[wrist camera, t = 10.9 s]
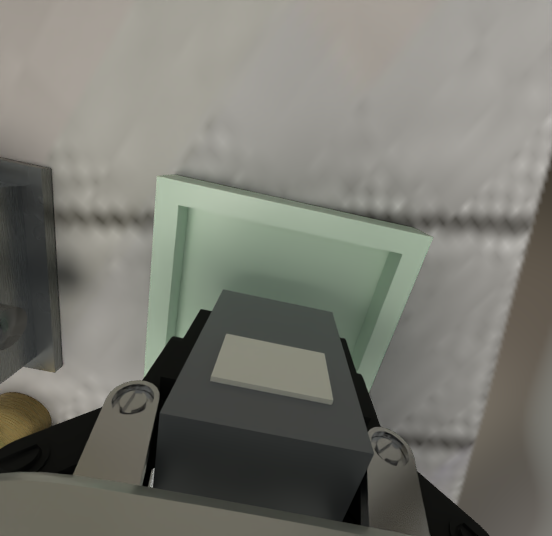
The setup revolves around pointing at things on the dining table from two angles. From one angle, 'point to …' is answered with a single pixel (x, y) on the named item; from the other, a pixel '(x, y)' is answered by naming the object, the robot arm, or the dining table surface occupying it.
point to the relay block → (265, 412)
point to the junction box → (27, 271)
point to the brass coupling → (21, 417)
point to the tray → (277, 263)
